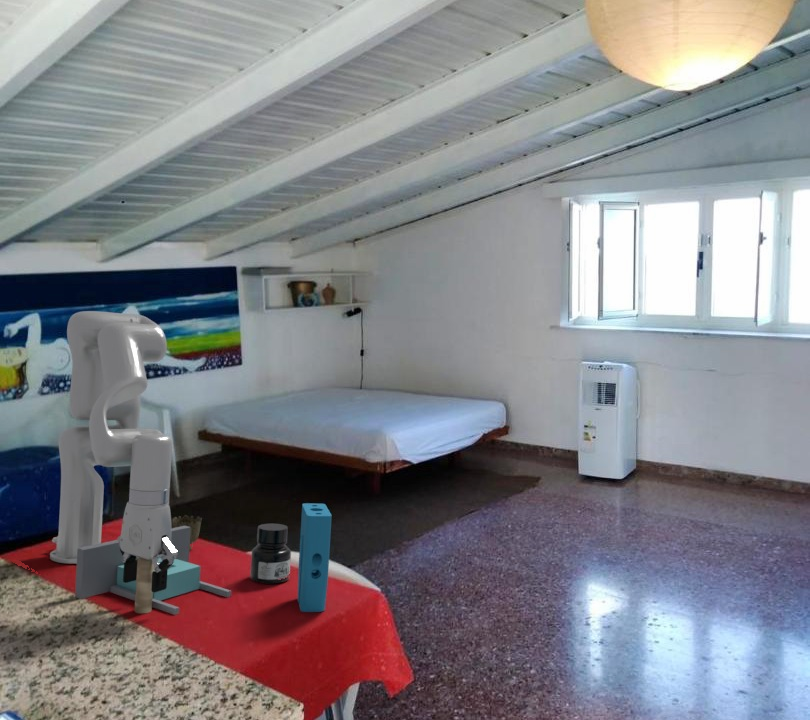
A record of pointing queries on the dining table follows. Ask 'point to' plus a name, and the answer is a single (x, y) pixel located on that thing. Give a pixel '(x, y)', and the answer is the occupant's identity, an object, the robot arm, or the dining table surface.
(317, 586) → the block
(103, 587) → the backstop wall
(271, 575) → the ink bottle
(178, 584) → the socket block
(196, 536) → the cup
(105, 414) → the robot arm
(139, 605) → the dowel
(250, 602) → the dining table surface
